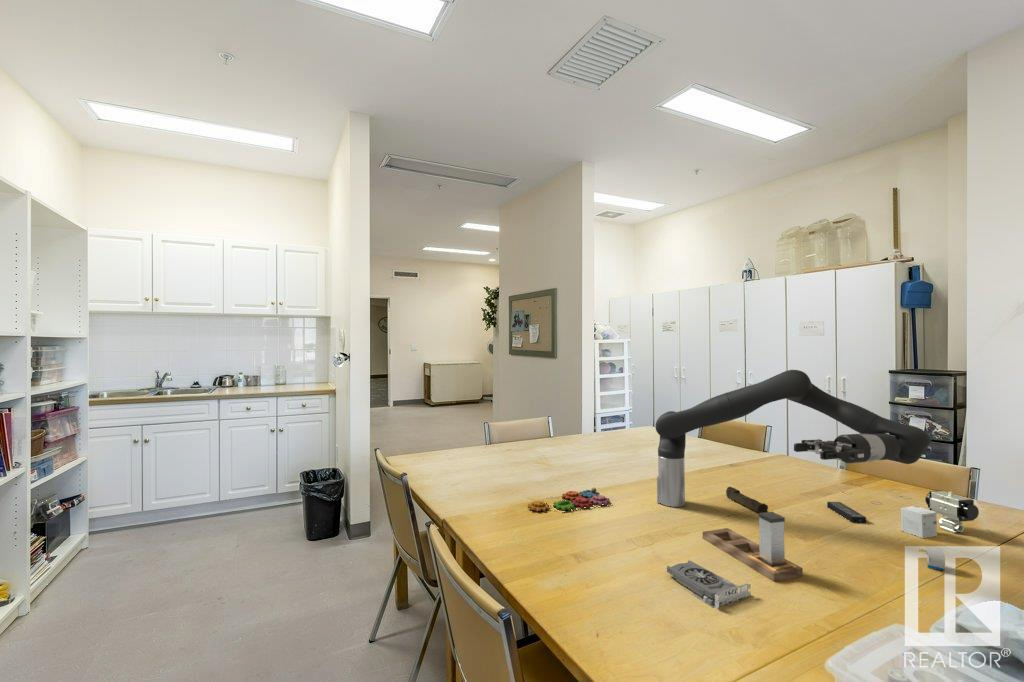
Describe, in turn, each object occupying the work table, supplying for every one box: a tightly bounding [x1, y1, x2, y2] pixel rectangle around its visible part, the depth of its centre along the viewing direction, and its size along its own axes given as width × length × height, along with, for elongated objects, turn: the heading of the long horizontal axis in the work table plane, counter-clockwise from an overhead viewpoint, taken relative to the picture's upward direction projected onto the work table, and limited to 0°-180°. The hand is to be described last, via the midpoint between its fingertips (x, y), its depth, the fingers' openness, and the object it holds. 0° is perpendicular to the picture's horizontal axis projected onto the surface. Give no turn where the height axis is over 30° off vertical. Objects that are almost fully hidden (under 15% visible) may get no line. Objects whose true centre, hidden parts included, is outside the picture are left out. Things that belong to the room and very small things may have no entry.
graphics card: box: [666, 560, 752, 611], centre depth 111 cm, size 17×4×12 cm
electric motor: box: [918, 546, 946, 571], centre depth 119 cm, size 7×5×5 cm
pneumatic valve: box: [924, 490, 980, 534], centre depth 141 cm, size 6×12×12 cm, turn 9°
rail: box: [702, 527, 804, 582], centre depth 126 cm, size 26×9×2 cm, turn 16°
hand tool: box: [725, 486, 769, 514], centre depth 165 cm, size 19×4×5 cm, turn 9°
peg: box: [757, 511, 786, 567], centre depth 119 cm, size 4×4×14 cm
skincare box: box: [900, 505, 938, 539], centre depth 139 cm, size 6×6×7 cm
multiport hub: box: [826, 501, 867, 524], centre depth 155 cm, size 4×14×2 cm, turn 174°
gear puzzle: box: [527, 487, 613, 512], centre depth 168 cm, size 31×16×4 cm, turn 110°
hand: (807, 451), depth 121 cm, fingers open, 8 cm apart
